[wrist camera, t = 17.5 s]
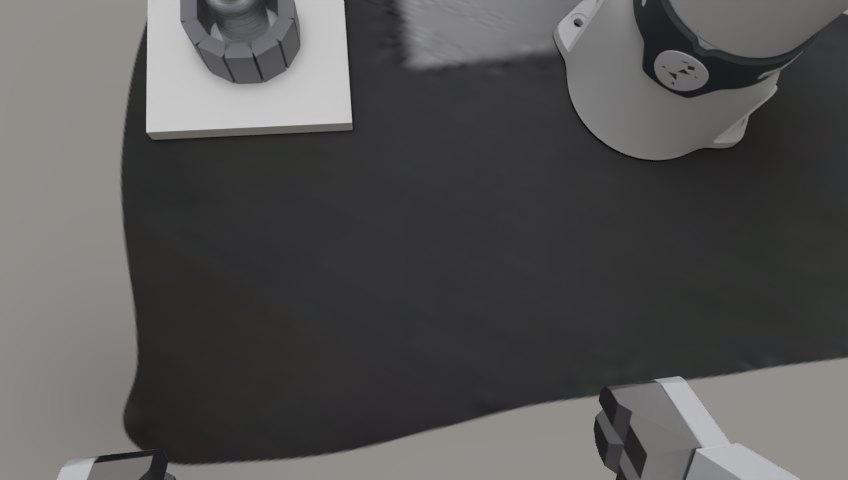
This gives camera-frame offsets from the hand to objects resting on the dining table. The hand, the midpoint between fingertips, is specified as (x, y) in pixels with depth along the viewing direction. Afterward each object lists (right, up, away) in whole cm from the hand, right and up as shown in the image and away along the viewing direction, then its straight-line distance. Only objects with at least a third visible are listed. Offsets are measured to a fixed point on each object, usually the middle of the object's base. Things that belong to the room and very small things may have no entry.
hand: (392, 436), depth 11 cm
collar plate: (-14, +20, +39) cm, 46 cm away
